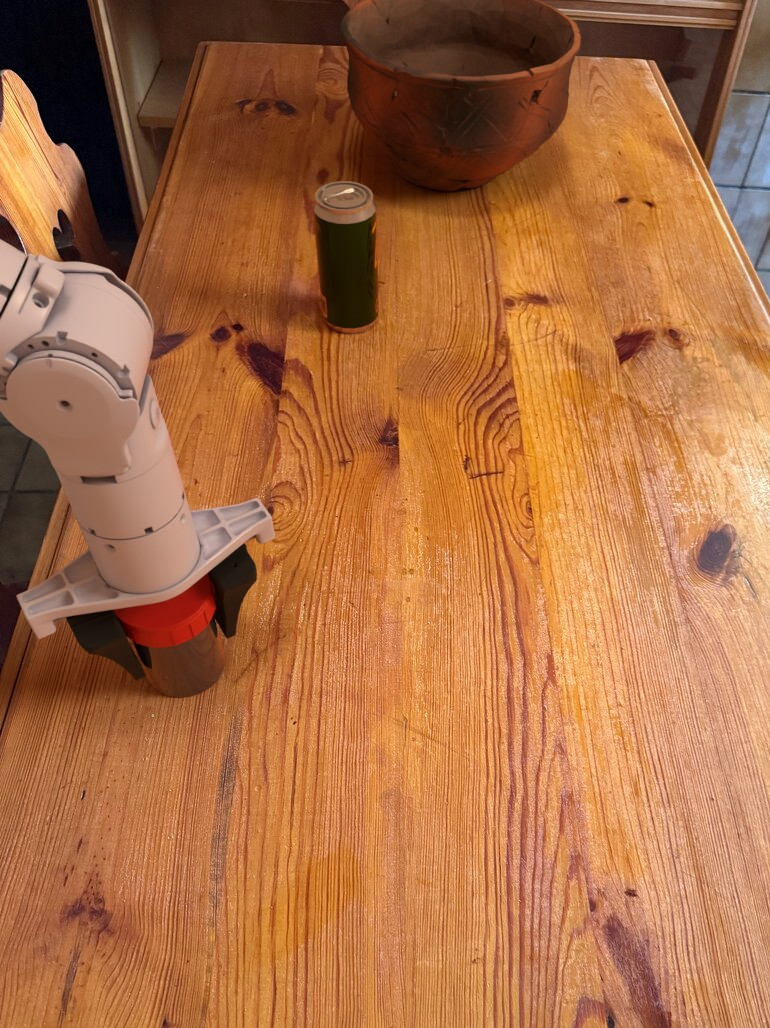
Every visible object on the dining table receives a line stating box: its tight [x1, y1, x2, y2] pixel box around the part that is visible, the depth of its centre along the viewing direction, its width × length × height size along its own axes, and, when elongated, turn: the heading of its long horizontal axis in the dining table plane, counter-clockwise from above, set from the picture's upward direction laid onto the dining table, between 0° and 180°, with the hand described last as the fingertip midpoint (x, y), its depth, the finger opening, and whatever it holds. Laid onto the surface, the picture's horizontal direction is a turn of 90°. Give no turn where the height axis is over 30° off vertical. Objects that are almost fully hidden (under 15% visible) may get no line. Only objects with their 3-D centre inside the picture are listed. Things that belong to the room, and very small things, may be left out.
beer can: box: [312, 180, 380, 334], centre depth 80 cm, size 5×5×12 cm
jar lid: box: [114, 573, 216, 648], centre depth 54 cm, size 6×6×2 cm
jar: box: [131, 614, 226, 698], centre depth 57 cm, size 5×5×8 cm
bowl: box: [339, 0, 582, 192], centre depth 97 cm, size 25×25×15 cm
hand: (181, 646), depth 58 cm, fingers closed on jar lid, 5 cm apart
